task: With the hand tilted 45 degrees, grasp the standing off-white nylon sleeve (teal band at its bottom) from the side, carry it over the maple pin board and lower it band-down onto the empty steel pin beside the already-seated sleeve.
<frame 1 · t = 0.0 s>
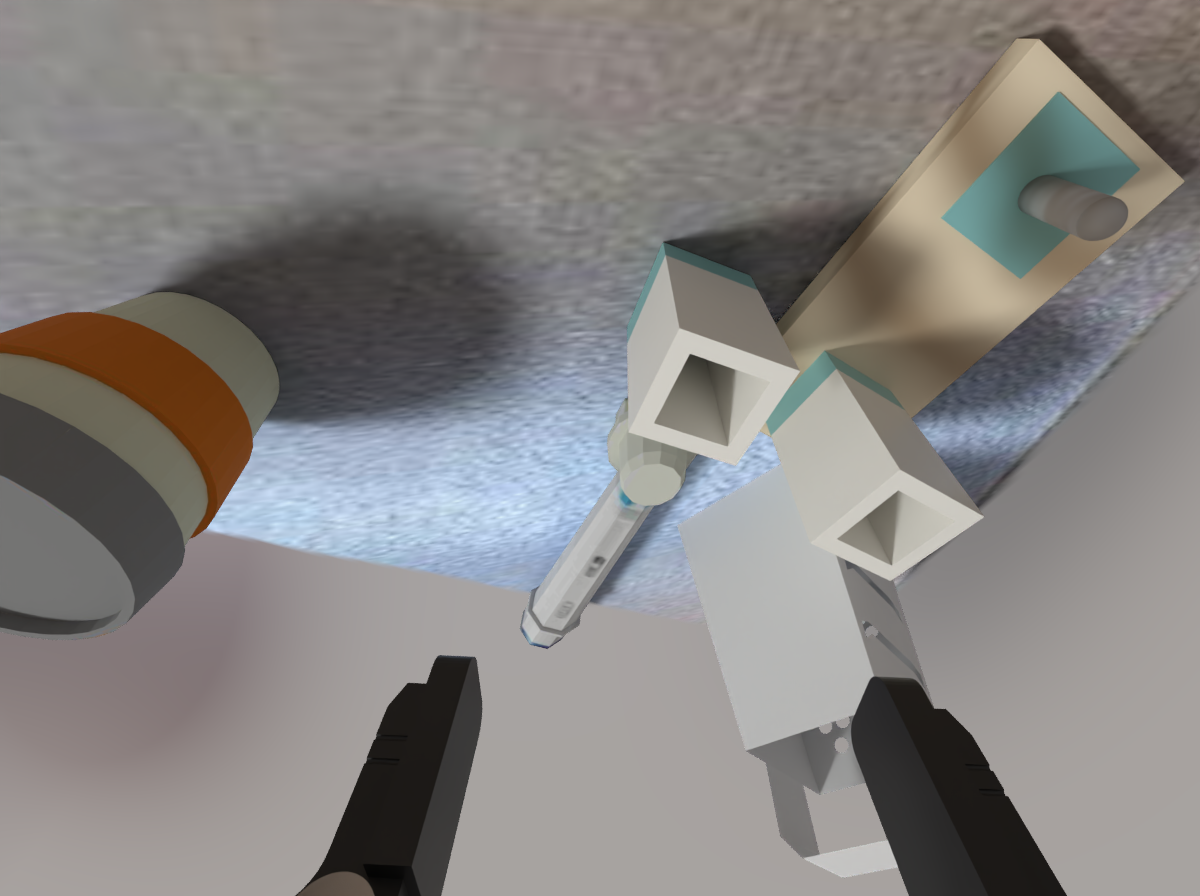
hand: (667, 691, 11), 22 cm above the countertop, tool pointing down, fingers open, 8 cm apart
electric toothbrush: (596, 513, 40), on the countertop
reusable coffee cup: (204, 361, 33), on the countertop
pin board: (905, 300, 29), on the countertop
grater: (776, 527, 40), on the countertop
seated sleeve: (825, 403, 31), point 1 cm above the countertop, touching pin board
sleeve: (686, 302, 29), on the countertop
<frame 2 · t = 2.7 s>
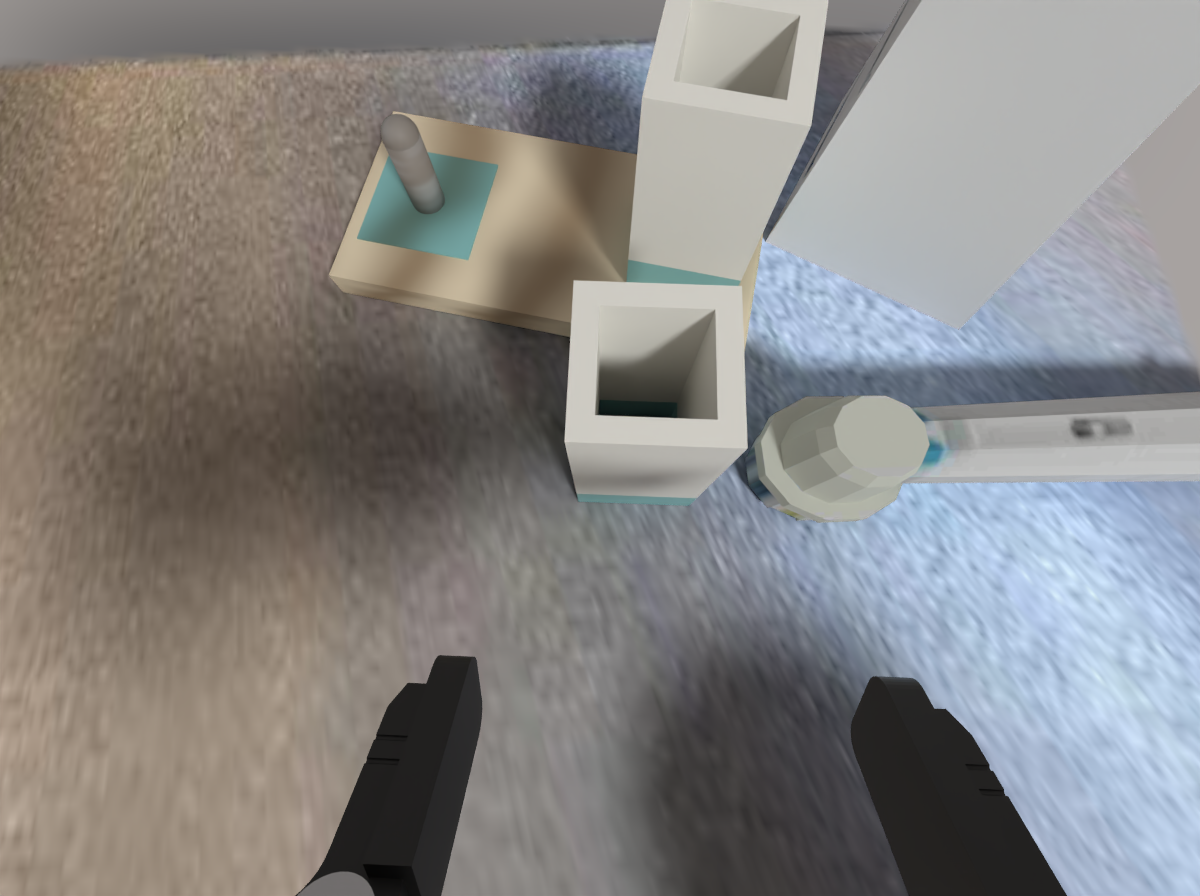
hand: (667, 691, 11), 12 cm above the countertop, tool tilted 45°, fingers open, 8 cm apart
electric toothbrush: (1005, 461, 25), on the countertop
pin board: (558, 244, 28), on the countertop
grater: (894, 210, 29), on the countertop
seated sleeve: (686, 249, 26), point 1 cm above the countertop, touching pin board
sleeve: (634, 450, 25), on the countertop
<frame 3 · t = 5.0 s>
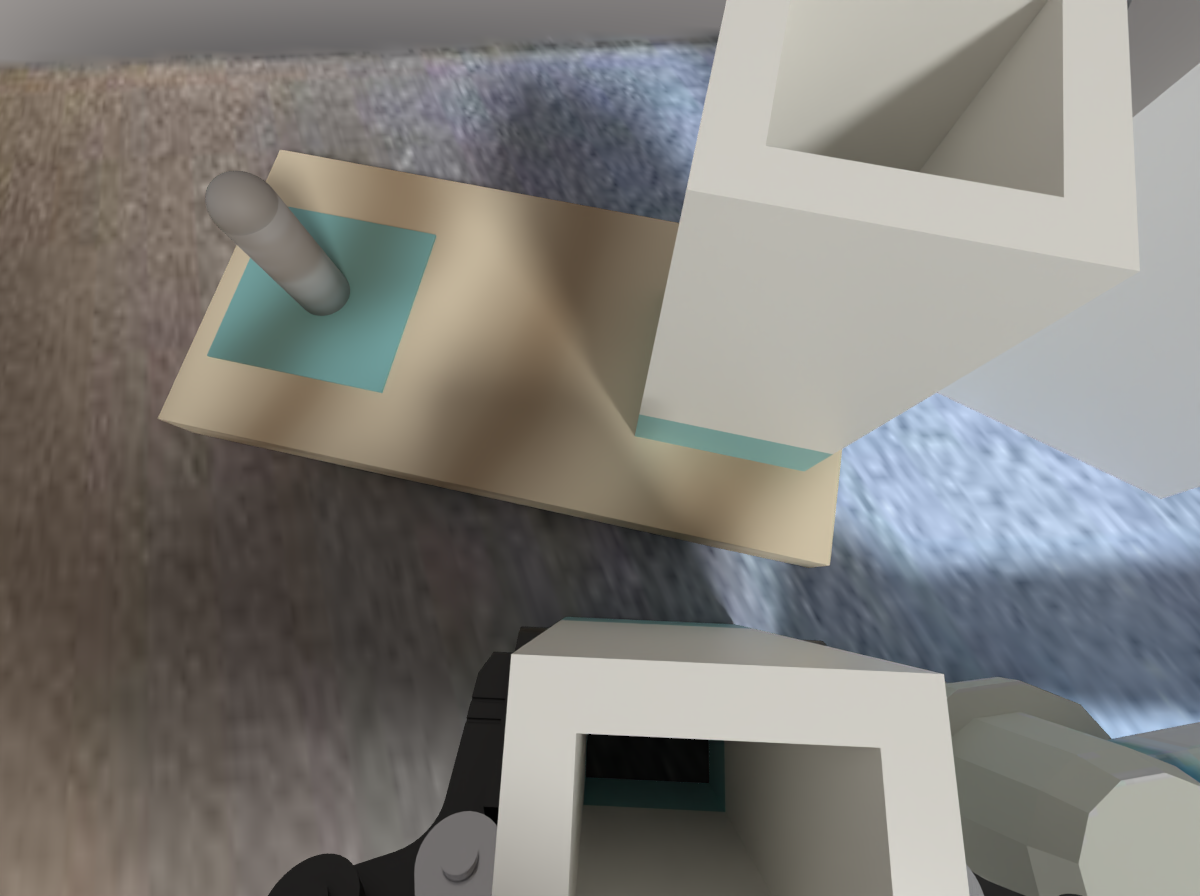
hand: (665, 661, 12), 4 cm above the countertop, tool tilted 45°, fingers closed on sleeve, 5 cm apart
pin board: (530, 354, 18), on the countertop
grater: (1041, 299, 19), on the countertop
seated sleeve: (731, 375, 16), point 1 cm above the countertop, touching pin board
sleeve: (648, 712, 15), on the countertop, touching gripper
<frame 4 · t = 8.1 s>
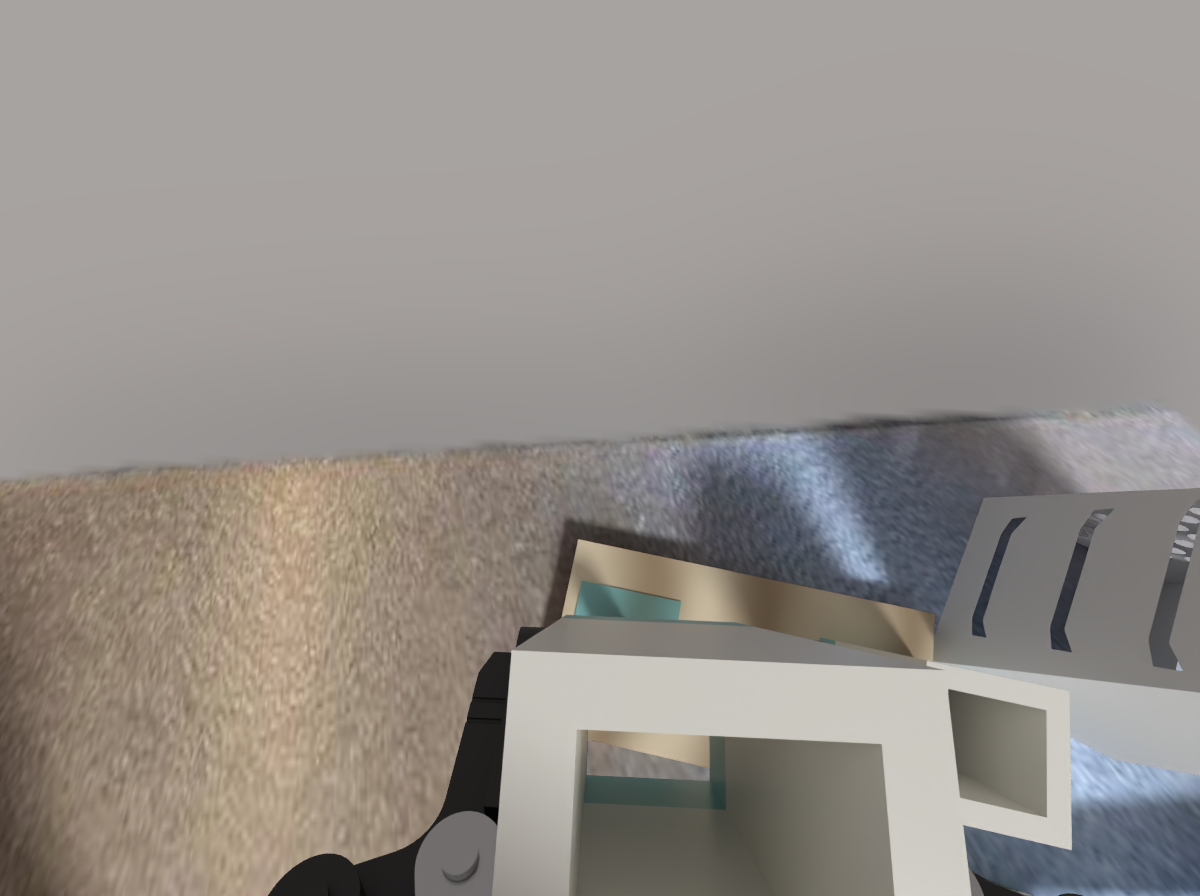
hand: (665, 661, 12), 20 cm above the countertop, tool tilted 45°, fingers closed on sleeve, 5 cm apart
pin board: (734, 665, 30), on the countertop
grater: (1041, 620, 31), on the countertop
seated sleeve: (863, 696, 28), point 1 cm above the countertop, touching pin board
sleeve: (649, 710, 15), point 16 cm above the countertop, touching gripper
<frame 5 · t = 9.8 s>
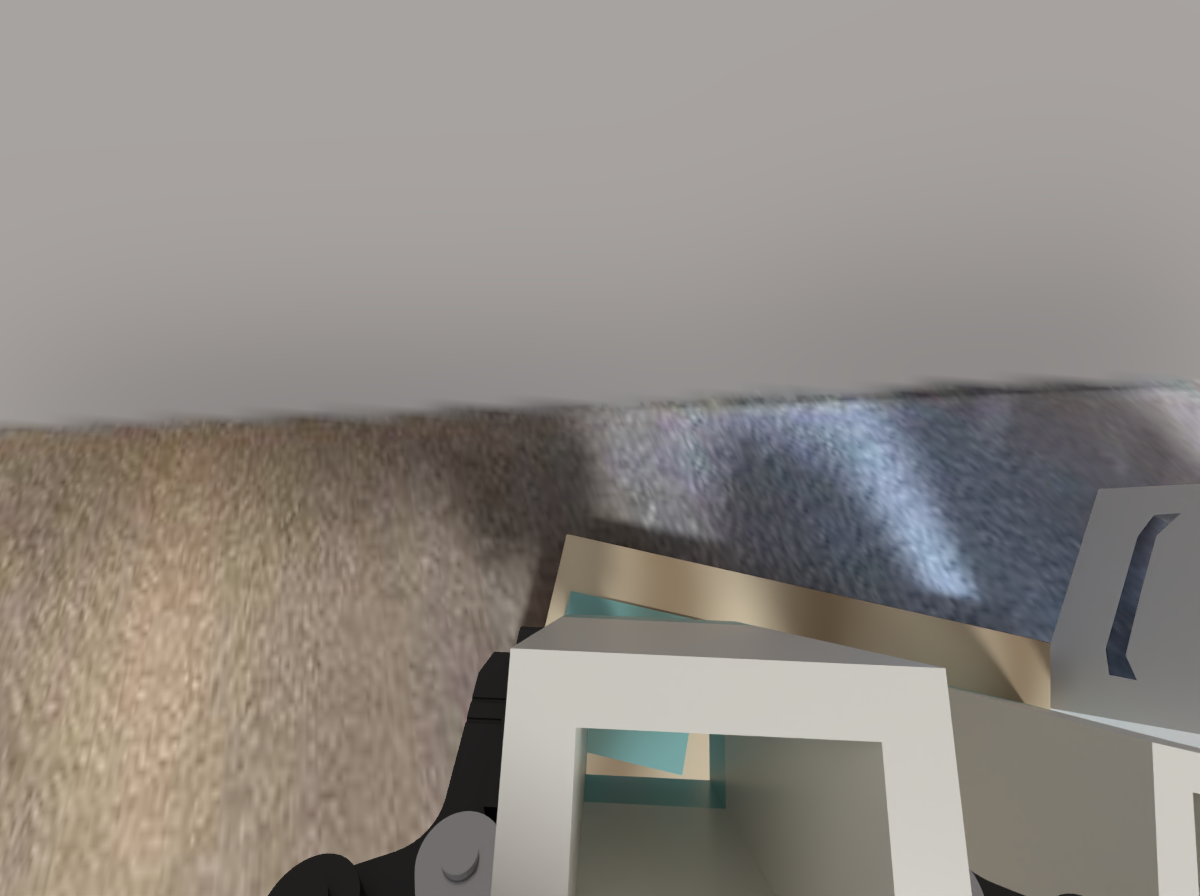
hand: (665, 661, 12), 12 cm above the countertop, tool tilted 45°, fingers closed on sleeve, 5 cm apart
pin board: (775, 709, 22), on the countertop
grater: (1180, 652, 23), on the countertop
seated sleeve: (957, 757, 20), point 1 cm above the countertop, touching pin board
sleeve: (648, 709, 15), point 8 cm above the countertop, touching gripper
when the fingers open (7 cm above the countertop, at t = 11.1 s): sleeve drops 1 cm, resting on pin board.
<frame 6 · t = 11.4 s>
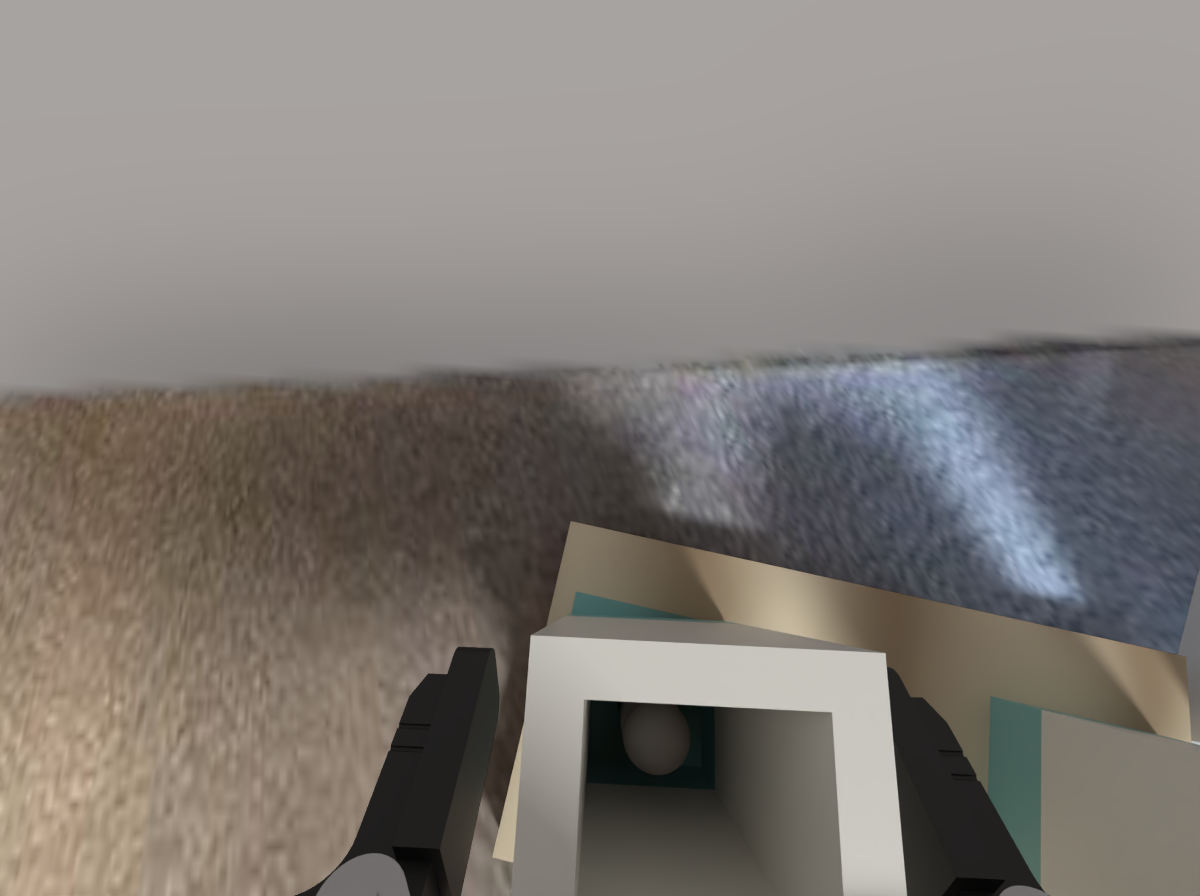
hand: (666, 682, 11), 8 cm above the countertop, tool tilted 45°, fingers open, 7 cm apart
pin board: (833, 739, 18), on the countertop
seated sleeve: (1073, 805, 16), point 1 cm above the countertop, touching pin board
sleeve: (646, 701, 17), point 2 cm above the countertop, touching pin board
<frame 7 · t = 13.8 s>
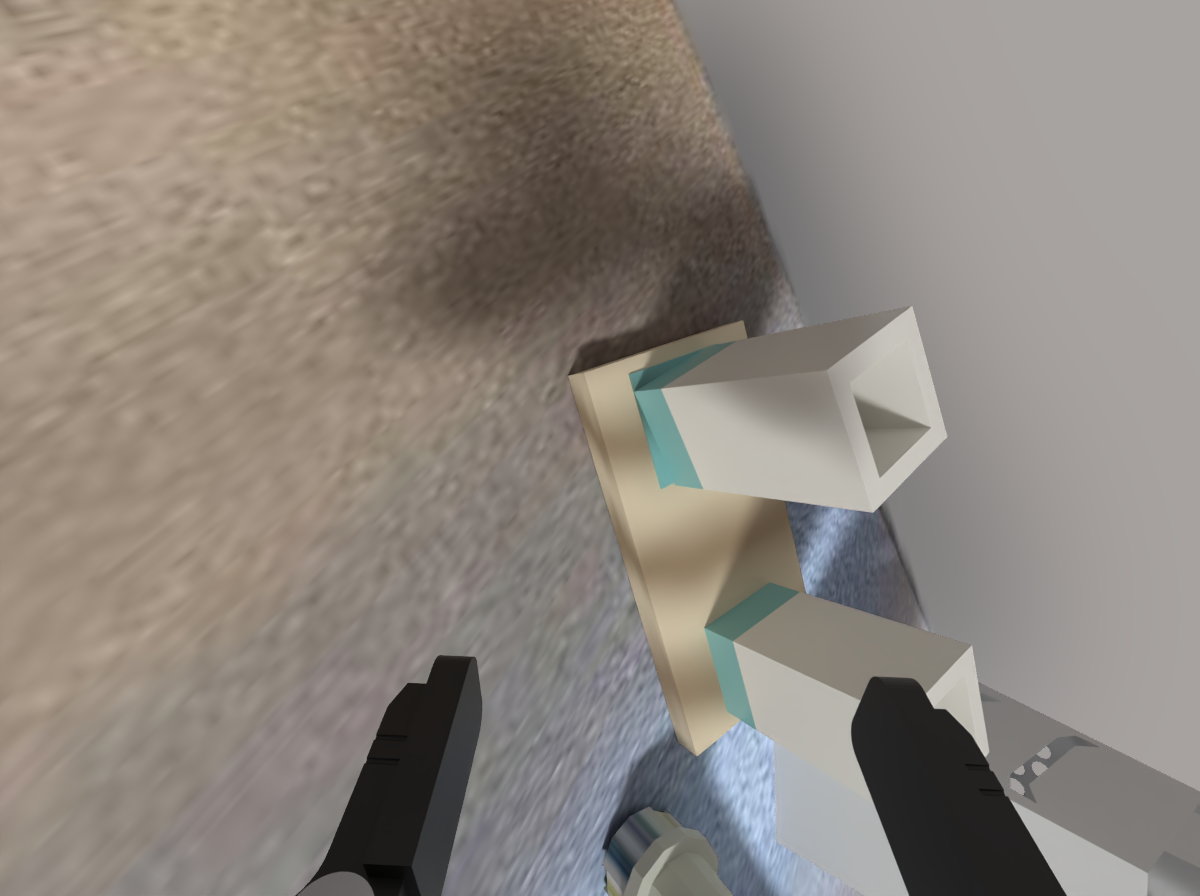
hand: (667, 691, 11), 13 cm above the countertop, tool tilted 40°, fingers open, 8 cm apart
pin board: (700, 530, 29), on the countertop
grater: (827, 728, 35), on the countertop
seated sleeve: (749, 645, 29), point 1 cm above the countertop, touching pin board
sleeve: (691, 414, 26), point 2 cm above the countertop, touching pin board
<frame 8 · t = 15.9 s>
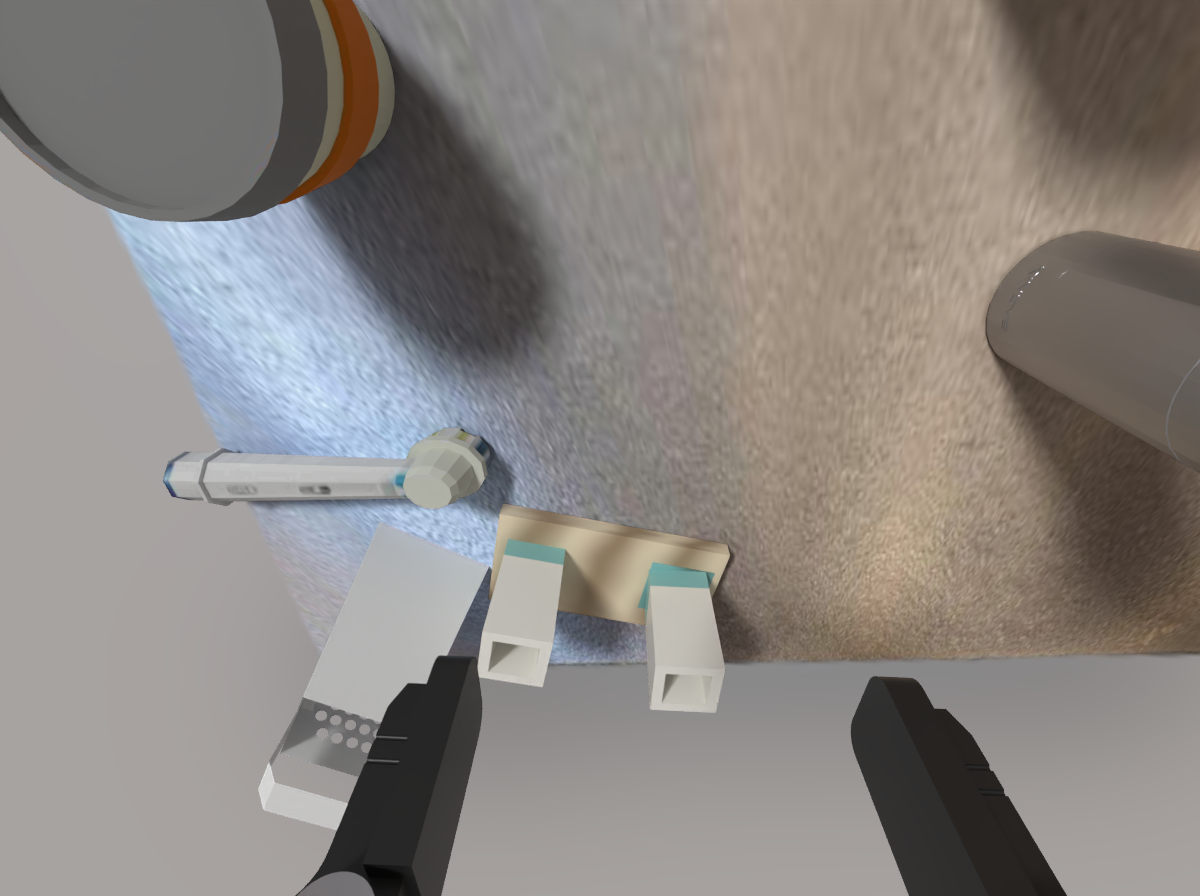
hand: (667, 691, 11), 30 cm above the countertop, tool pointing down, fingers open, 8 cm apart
electric toothbrush: (344, 455, 45), on the countertop
reusable coffee cup: (319, 77, 31), on the countertop
pin board: (605, 566, 49), on the countertop
grater: (418, 580, 51), on the countertop
seated sleeve: (532, 565, 47), point 1 cm above the countertop, touching pin board
sleeve: (674, 591, 48), point 2 cm above the countertop, touching pin board
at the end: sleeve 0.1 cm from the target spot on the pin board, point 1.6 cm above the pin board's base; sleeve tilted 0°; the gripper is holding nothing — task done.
